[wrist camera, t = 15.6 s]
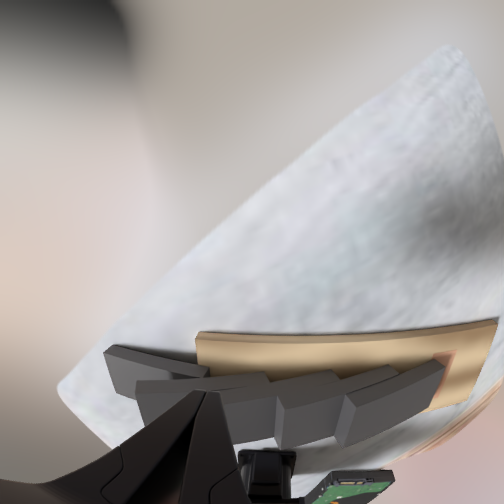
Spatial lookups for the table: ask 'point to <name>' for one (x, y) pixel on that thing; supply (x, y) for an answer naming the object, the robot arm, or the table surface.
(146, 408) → the domino
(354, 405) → the domino
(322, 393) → the domino
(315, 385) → the domino
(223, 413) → the robot arm
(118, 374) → the domino
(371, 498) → the disk drive
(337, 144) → the table surface
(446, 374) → the board
